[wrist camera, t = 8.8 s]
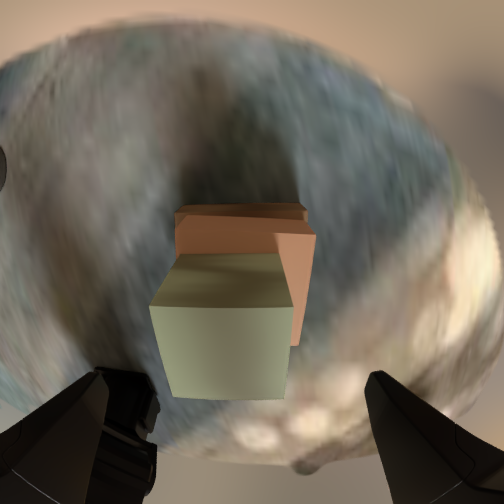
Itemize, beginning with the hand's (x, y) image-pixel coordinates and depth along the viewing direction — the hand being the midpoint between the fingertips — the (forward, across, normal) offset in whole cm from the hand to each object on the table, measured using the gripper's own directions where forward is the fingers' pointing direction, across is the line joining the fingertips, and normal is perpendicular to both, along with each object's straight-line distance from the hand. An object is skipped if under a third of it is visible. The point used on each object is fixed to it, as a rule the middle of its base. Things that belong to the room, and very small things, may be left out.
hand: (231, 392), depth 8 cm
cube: (+7, 0, +1) cm, 7 cm away
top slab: (+10, 0, +1) cm, 10 cm away
